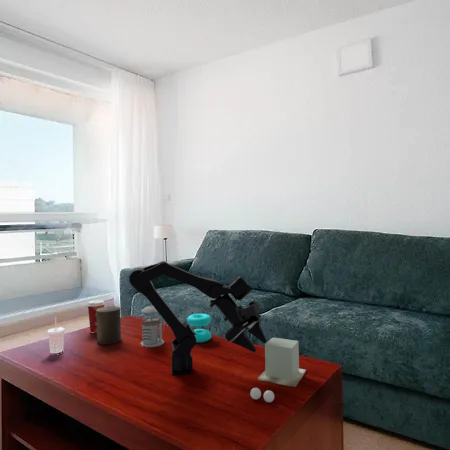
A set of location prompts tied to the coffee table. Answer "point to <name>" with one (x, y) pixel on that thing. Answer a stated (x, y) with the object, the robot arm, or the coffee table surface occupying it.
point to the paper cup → (94, 313)
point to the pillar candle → (108, 325)
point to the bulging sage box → (282, 358)
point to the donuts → (200, 320)
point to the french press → (151, 329)
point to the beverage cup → (56, 338)
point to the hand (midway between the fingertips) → (260, 346)
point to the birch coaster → (283, 381)
